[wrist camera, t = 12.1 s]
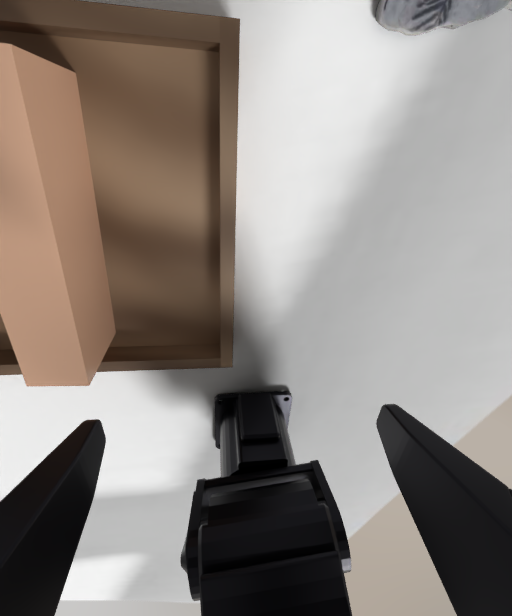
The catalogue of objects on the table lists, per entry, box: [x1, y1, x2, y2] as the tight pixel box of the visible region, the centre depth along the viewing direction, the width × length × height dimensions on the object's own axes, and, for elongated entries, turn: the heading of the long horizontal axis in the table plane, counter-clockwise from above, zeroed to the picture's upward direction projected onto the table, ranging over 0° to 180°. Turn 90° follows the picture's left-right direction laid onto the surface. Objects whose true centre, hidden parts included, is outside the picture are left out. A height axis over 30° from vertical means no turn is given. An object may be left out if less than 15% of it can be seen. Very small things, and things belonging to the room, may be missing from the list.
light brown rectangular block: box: [0, 43, 116, 386], centre depth 15 cm, size 14×3×5 cm, turn 174°
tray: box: [0, 0, 240, 375], centre depth 16 cm, size 18×18×2 cm
